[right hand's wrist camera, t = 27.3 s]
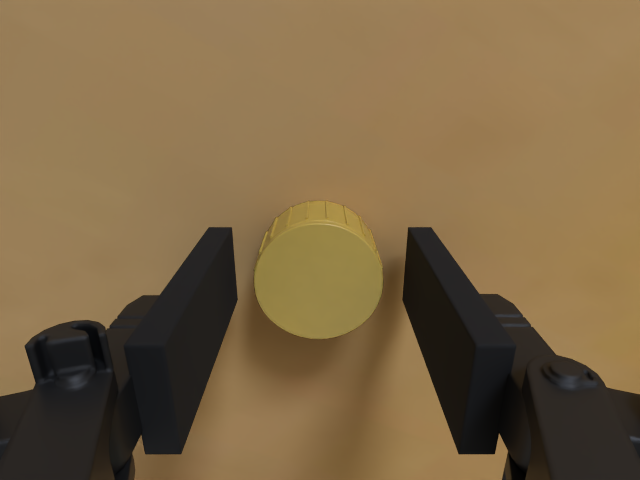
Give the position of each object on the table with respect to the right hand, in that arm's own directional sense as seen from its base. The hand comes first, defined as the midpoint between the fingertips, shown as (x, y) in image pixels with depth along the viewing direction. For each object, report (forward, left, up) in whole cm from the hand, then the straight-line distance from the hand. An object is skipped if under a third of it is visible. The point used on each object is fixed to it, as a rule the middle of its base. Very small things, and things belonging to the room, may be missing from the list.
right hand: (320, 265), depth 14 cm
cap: (0, 0, +1) cm, 1 cm away
